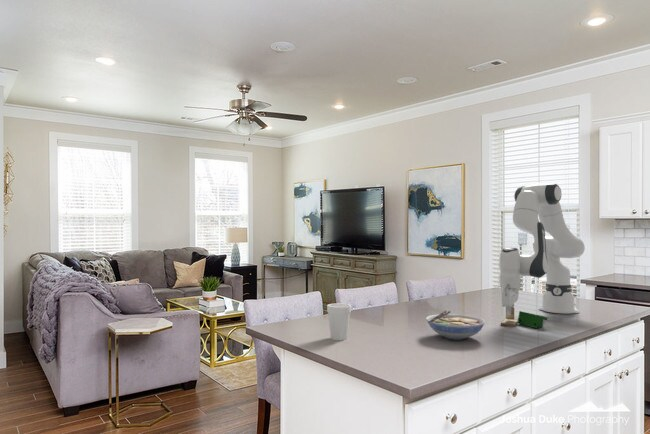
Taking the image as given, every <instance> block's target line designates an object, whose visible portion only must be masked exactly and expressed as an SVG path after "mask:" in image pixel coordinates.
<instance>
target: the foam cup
mask: <svg viewBox="0 0 650 434" xmlns="http://www.w3.org/2000/svg"><path fill="white" fill-rule="evenodd" d="M326 312H327V316H328V324H329V331H330V339H331V340H333V341H346V340H347V339H348V336H349V335H348V333H349V325H350V317H351V312H352V305H351V304H349V303H338V302H337V303H329V304H327V305H326Z"/></svg>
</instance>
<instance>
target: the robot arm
mask: <svg viewBox="0 0 650 434" xmlns="http://www.w3.org/2000/svg"><path fill="white" fill-rule="evenodd" d="M561 199H562V190H561V187H560V186H559V185H558V184H557V183H553V182H548V183H536V184H529V185H526V186H525V185H524V186H523V185H522V186H520V187H518V188H517V189H516V190H515V191H514V201H515V203H514V206H513V214H512V223H513V225H514V226H515V227H516V228H517V229H518V230H520V231H523V232H525V233H527V234H530V235H531V236H533V240H534V242H533V243H532V249H533V251H534V254H532V255H531V254H520V250H519V249H518V248H517V247H505V248H503V249H501V250H500V252H499V264H498V265H499V266H498V267H499V270H500V271H499V288H502V290H501V306H502V307H504V308H505V311H506V310H507V315H511V307H513V308H514V309H515V304H516V303H517V302H518V300H519V291H520V288H521V276H526V277H533V278H537V279H538V278H539V279H541V278H542V277H544V276H545V277H546V283H545V292H544V293H542V305H541V306H540V307H538V311H539V310H540V311H544V312H548V313H554V314H580V310H578V309H577V308H576V302H575V296H574V295H573V293H572V284H571V270H570V268H568V266H566V265H564V264H563V263H562V261H561V259H562V258H563V259H576V258H580V257H581V256H582V255H583V254H584V252H585V244H584V242H583V240H582V239H581V238H579V237H578V236H576V235H575V234H573V232H571V230H570V229H569V227H567V224H566V221H565V219H564V215H563V210H562V207H561V203H560V201H561ZM546 233H548V234H549V235H550V236H549V235H547V236H546Z"/></svg>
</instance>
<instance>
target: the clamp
mask: <svg viewBox="0 0 650 434" xmlns="http://www.w3.org/2000/svg"><path fill="white" fill-rule="evenodd" d="M517 319H518V324H520V325H523V326H527V327H530V328H535V329H541V328H542V327H543V324H544V321H548V317H547V316H543V315H538V314H536V313H535V314H534V313H530V312H525V311H522V310H519V313H518V318H517Z"/></svg>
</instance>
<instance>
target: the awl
mask: <svg viewBox="0 0 650 434" xmlns="http://www.w3.org/2000/svg"><path fill="white" fill-rule="evenodd" d="M505 318H506V319H510V320H513V319H515V307H514V308H513V307H511V315H507V310H506V309H505Z"/></svg>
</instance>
